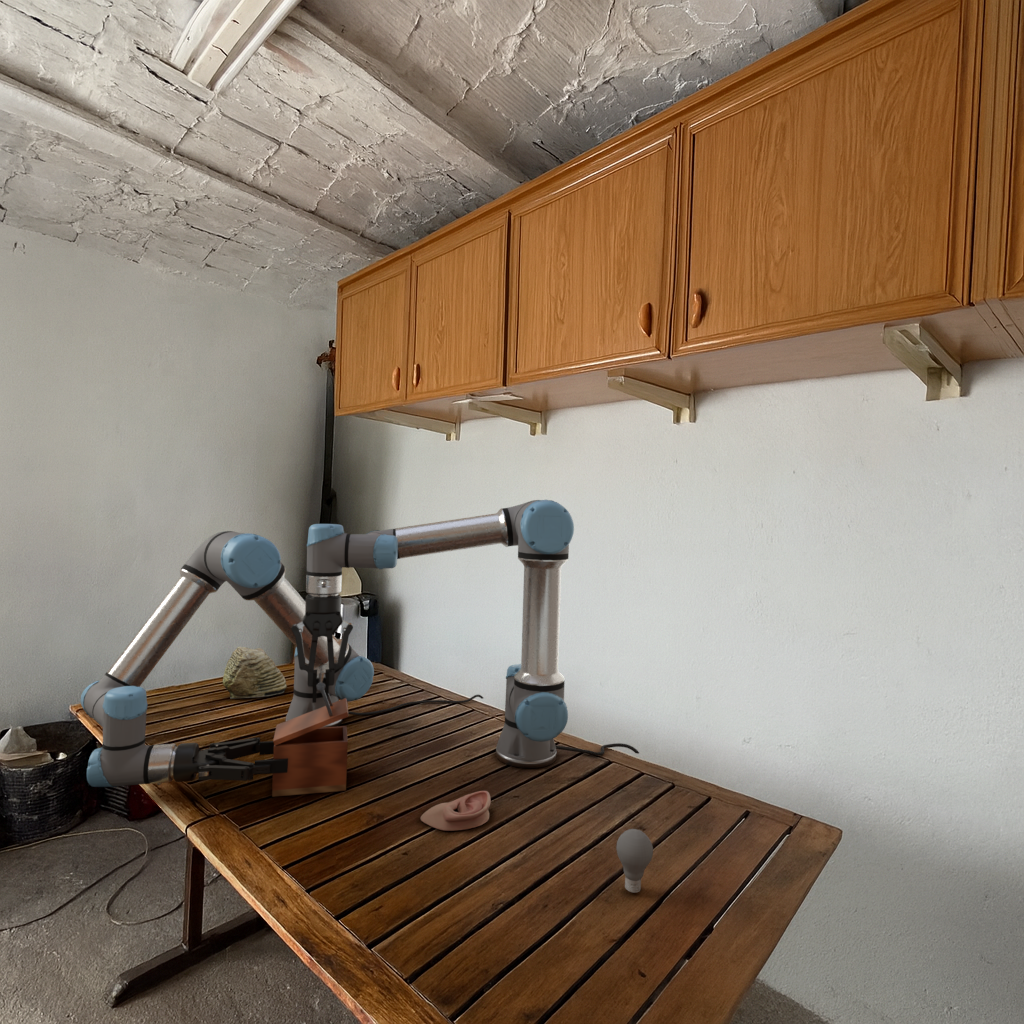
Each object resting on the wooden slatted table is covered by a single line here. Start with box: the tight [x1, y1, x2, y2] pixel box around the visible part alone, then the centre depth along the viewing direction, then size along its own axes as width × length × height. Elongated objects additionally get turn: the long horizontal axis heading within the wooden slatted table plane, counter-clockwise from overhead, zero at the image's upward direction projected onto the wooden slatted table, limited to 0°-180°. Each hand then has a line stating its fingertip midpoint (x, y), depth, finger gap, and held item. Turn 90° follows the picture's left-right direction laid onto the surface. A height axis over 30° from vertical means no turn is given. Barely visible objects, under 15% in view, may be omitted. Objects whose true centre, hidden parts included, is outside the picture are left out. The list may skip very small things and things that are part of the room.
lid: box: [272, 673, 350, 746], centre depth 139 cm, size 16×10×9 cm, turn 106°
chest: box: [271, 725, 349, 798], centre depth 140 cm, size 15×10×11 cm, turn 106°
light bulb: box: [615, 828, 654, 894], centre depth 106 cm, size 6×6×10 cm
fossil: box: [222, 646, 288, 699], centre depth 198 cm, size 9×18×15 cm, turn 132°
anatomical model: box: [419, 790, 492, 832], centre depth 127 cm, size 13×4×12 cm
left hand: (289, 755), depth 138 cm, fingers closed on chest, 10 cm apart
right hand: (320, 700), depth 140 cm, fingers closed on lid, 2 cm apart
